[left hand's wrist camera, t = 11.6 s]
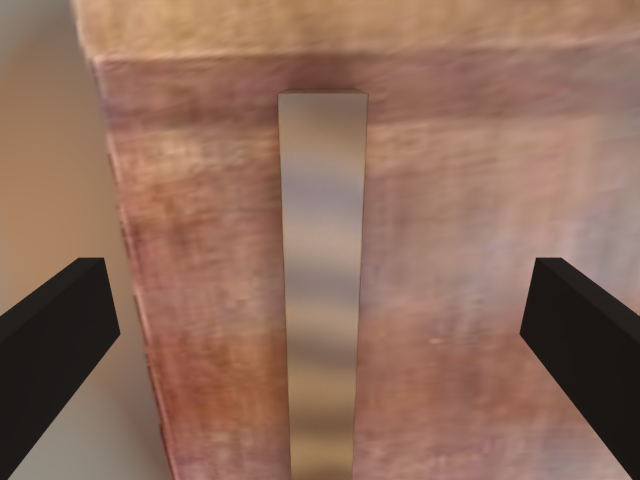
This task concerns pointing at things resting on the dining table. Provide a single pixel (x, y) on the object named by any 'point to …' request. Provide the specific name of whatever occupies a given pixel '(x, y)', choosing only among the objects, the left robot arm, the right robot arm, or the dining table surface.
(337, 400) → the bar
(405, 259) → the dining table surface
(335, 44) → the dining table surface
